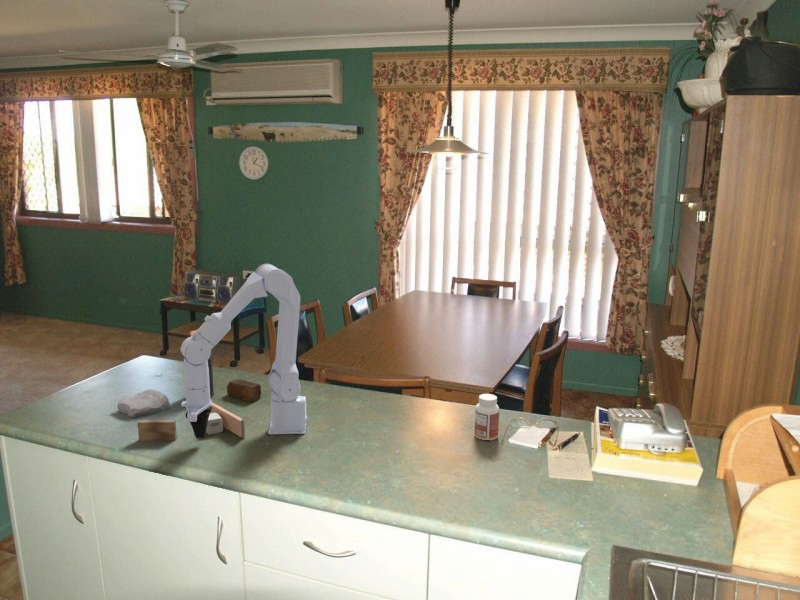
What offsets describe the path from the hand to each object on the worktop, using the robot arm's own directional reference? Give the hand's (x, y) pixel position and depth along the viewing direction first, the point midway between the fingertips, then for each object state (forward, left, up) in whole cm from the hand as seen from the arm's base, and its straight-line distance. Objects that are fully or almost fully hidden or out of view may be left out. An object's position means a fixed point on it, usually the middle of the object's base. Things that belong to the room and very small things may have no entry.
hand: (200, 436), depth 155 cm
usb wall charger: (-1, -10, -3) cm, 10 cm away
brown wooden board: (+12, -3, -2) cm, 12 cm away
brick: (-5, -32, -3) cm, 33 cm away
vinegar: (+7, -33, -2) cm, 34 cm away
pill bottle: (-73, -2, -2) cm, 73 cm away
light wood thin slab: (-5, -10, -2) cm, 11 cm away
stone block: (+21, -23, -3) cm, 31 cm away
